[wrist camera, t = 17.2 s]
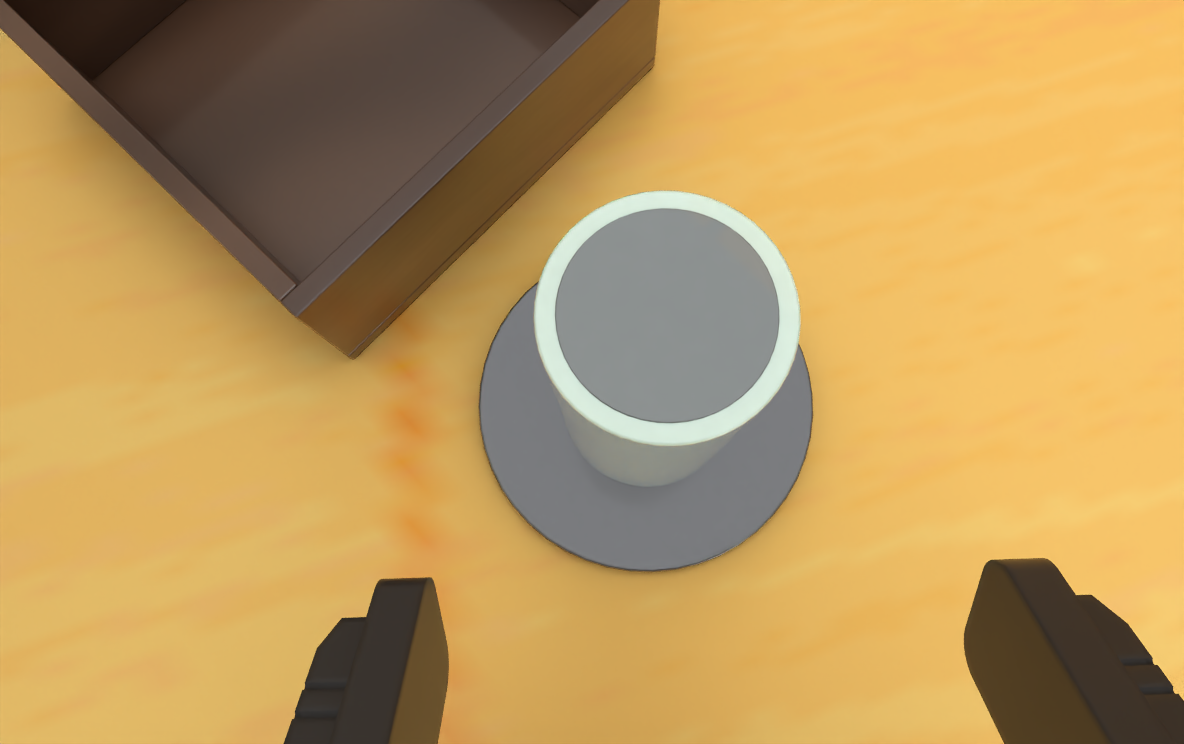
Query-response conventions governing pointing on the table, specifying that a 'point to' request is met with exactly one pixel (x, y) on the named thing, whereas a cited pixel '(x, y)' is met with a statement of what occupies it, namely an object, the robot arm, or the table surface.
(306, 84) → the open box
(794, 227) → the table surface
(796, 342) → the tumbler
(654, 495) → the coaster
